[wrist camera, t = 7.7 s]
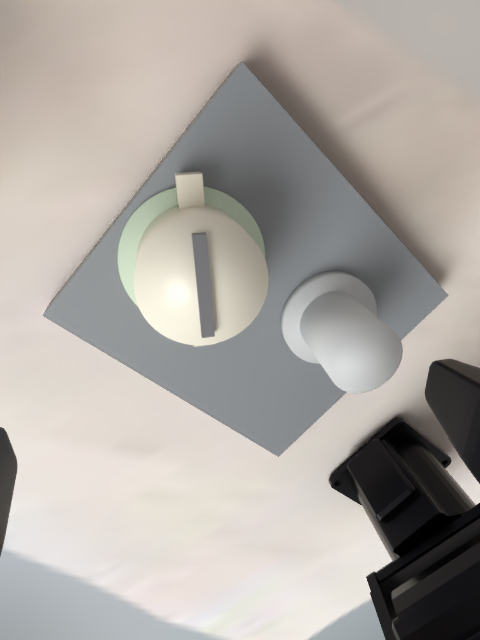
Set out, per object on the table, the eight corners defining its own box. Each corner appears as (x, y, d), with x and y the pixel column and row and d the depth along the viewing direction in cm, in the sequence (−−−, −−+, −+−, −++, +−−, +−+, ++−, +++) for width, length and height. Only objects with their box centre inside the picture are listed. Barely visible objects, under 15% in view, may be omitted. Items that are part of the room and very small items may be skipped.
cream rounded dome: (254, 329, 20) (271, 365, 17) (149, 343, 19) (148, 383, 16) (248, 168, 17) (269, 177, 14) (122, 176, 16) (115, 188, 13)
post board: (434, 287, 22) (512, 332, 18) (273, 442, 25) (302, 519, 20) (236, 65, 16) (272, 41, 11) (48, 304, 19) (12, 368, 14)
